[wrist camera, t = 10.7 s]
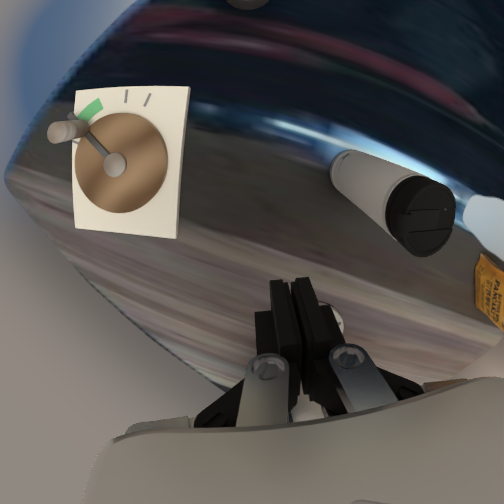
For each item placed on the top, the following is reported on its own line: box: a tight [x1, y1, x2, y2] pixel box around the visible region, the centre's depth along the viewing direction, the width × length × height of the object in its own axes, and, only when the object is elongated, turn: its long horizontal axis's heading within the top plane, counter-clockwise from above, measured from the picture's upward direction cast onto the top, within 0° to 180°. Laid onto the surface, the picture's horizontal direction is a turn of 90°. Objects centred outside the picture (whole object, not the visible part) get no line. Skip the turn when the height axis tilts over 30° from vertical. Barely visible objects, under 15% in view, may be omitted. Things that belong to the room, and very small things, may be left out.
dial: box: [47, 112, 168, 213], centre depth 29 cm, size 16×13×8 cm
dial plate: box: [72, 86, 191, 239], centre depth 34 cm, size 20×16×2 cm
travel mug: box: [330, 150, 456, 257], centre depth 28 cm, size 6×7×20 cm
